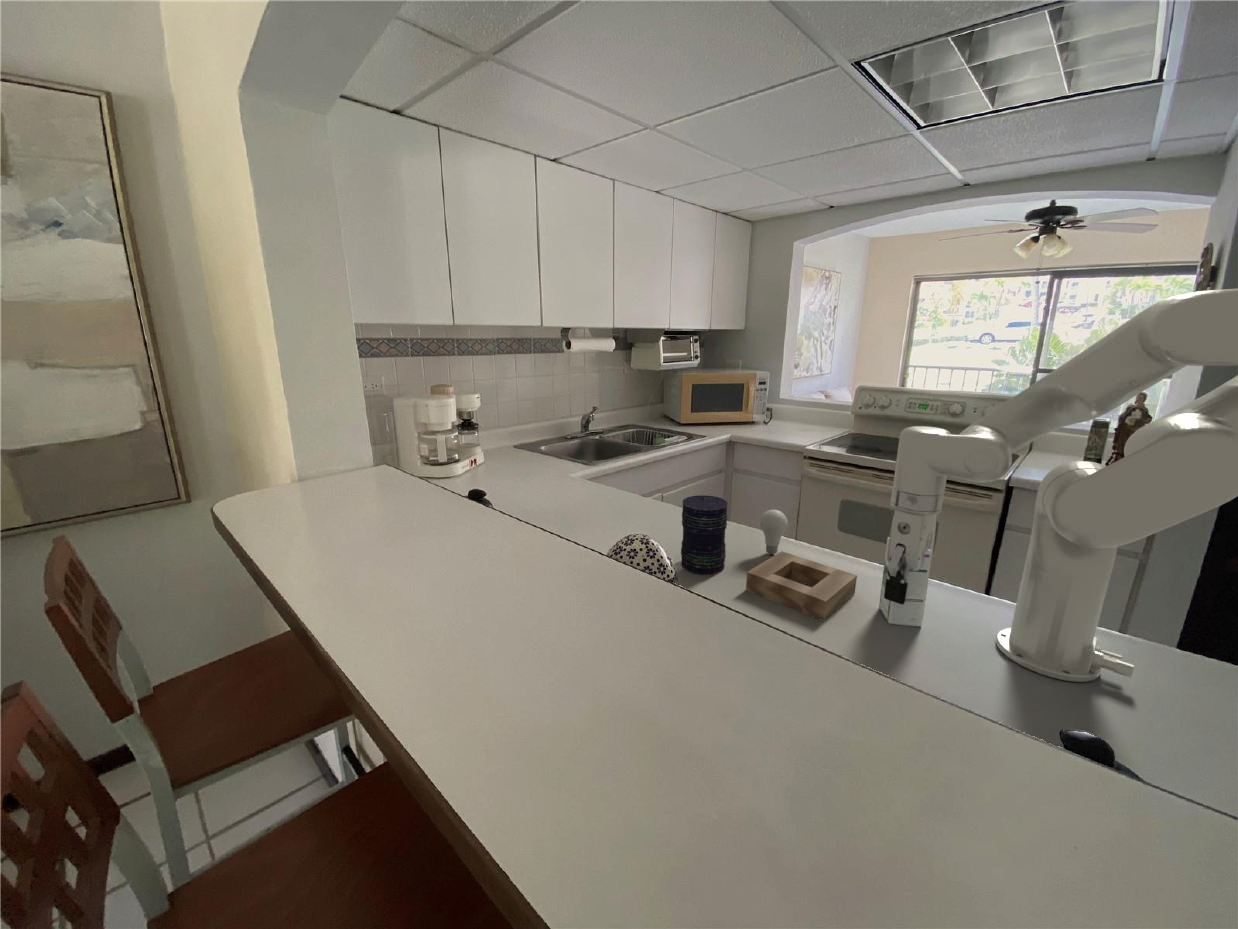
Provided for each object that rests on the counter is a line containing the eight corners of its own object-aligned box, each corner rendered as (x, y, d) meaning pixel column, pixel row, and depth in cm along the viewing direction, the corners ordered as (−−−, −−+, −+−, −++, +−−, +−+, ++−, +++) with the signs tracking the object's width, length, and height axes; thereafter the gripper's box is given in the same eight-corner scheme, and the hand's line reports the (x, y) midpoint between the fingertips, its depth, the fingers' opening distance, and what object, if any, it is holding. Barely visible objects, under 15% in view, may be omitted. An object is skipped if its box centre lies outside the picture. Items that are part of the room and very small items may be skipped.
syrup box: (923, 627, 86) (935, 551, 83) (886, 624, 87) (897, 548, 84) (911, 610, 92) (922, 537, 88) (876, 607, 93) (886, 535, 89)
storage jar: (729, 575, 106) (732, 509, 102) (683, 575, 106) (685, 510, 102) (719, 555, 115) (722, 494, 112) (678, 556, 115) (679, 495, 112)
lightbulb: (788, 552, 117) (791, 508, 114) (780, 562, 112) (784, 516, 109) (762, 547, 120) (765, 504, 117) (754, 556, 115) (757, 511, 112)
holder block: (854, 593, 98) (857, 575, 97) (823, 621, 88) (826, 601, 87) (780, 567, 109) (781, 551, 108) (745, 590, 99) (747, 572, 98)
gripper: (925, 517, 75) (909, 619, 80) (955, 493, 87) (939, 583, 91) (874, 506, 81) (861, 602, 85) (908, 484, 92) (896, 570, 97)
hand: (902, 591), depth 88 cm, fingers closed on syrup box, 7 cm apart
